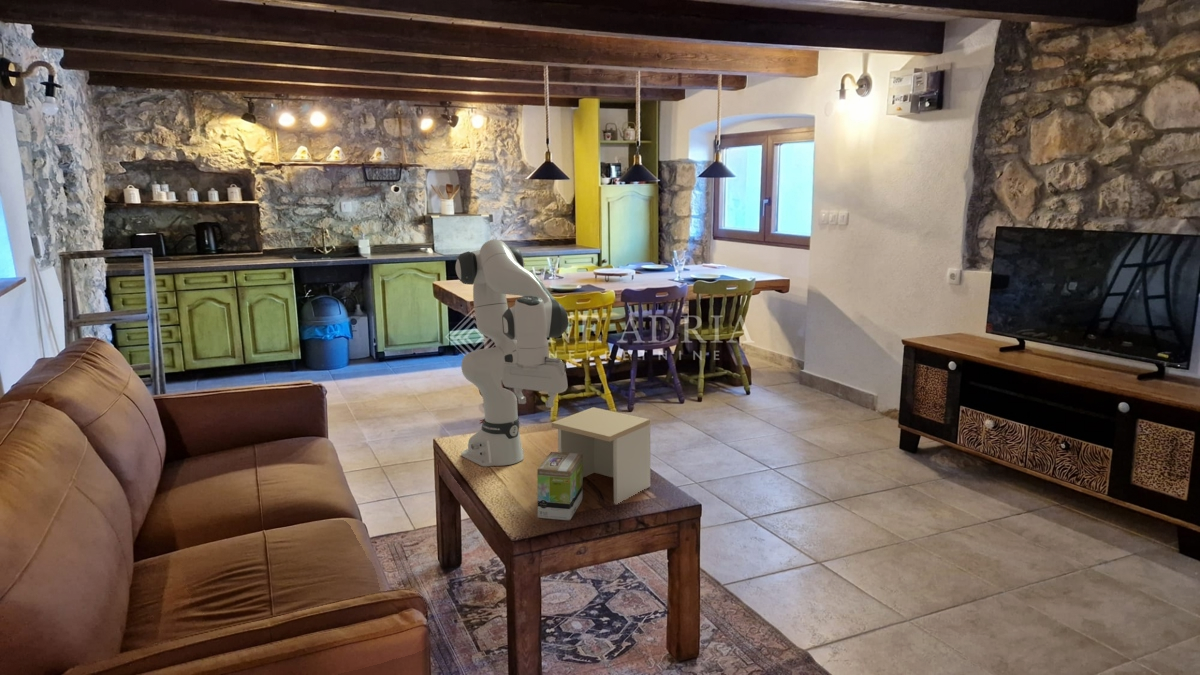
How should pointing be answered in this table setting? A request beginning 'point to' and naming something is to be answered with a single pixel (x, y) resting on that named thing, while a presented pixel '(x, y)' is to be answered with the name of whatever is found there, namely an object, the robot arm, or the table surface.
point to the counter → (609, 447)
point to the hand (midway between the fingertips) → (535, 405)
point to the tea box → (560, 485)
